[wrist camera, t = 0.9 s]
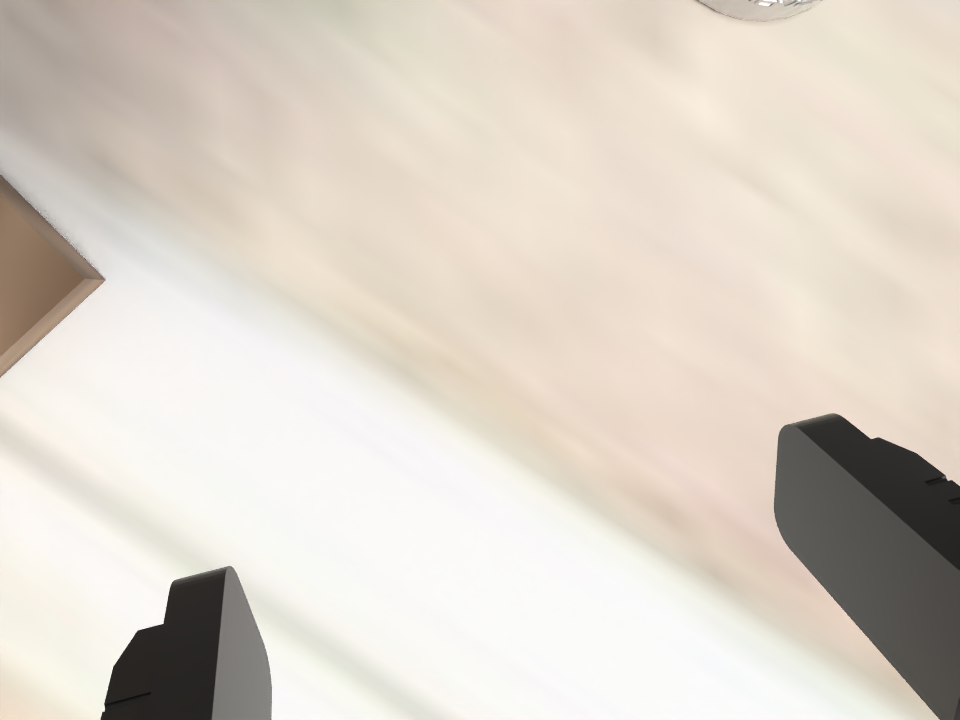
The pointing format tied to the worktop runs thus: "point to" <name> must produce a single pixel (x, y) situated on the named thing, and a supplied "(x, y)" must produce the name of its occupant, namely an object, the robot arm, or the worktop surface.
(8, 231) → the walnut post
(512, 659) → the worktop surface
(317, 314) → the worktop surface
